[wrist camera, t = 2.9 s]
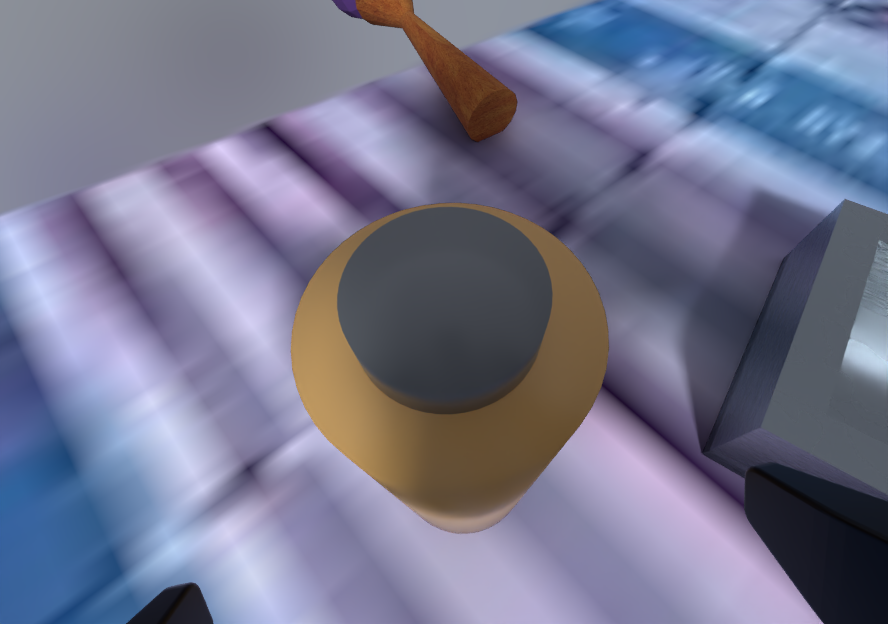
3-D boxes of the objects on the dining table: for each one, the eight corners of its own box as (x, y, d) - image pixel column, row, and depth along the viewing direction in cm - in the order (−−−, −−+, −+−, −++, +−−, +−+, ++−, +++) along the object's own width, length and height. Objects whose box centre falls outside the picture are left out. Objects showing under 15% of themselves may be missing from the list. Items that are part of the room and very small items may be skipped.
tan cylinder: (549, 445, 18) (686, 244, 6) (481, 564, 16) (505, 578, 5) (445, 379, 19) (408, 124, 8) (373, 480, 17) (189, 334, 6)
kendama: (438, 103, 22) (289, -77, 30) (456, 176, 28) (327, 9, 35) (537, 43, 23) (365, -122, 30) (535, 127, 28) (390, -30, 36)
